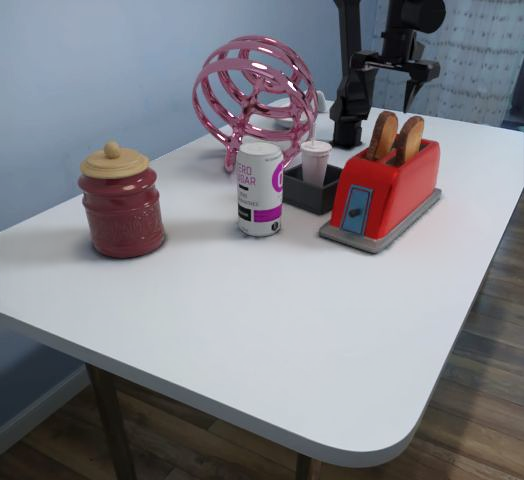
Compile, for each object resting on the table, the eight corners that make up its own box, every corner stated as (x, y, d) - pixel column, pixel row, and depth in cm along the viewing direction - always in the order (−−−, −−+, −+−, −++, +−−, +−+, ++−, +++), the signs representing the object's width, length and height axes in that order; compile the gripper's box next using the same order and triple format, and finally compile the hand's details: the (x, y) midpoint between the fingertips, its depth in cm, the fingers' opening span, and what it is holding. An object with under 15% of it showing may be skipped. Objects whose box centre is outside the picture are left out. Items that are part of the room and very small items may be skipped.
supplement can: (286, 221, 96) (289, 142, 87) (273, 241, 90) (274, 158, 81) (247, 215, 98) (246, 137, 89) (232, 234, 92) (228, 152, 83)
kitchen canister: (163, 222, 96) (150, 126, 84) (168, 255, 86) (154, 153, 75) (94, 228, 94) (71, 131, 82) (91, 263, 84) (64, 159, 73)
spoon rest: (302, 135, 135) (304, 107, 130) (265, 129, 140) (265, 101, 135) (336, 113, 151) (338, 87, 146) (301, 108, 155) (303, 82, 150)
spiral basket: (261, 105, 87) (302, -13, 94) (147, 122, 102) (189, 19, 108) (318, 198, 111) (348, 99, 117) (218, 201, 125) (250, 112, 131)
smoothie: (295, 186, 107) (298, 118, 98) (324, 185, 108) (330, 117, 98) (300, 199, 102) (304, 128, 93) (330, 198, 103) (337, 127, 94)
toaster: (377, 256, 86) (396, 146, 74) (314, 235, 92) (323, 130, 80) (443, 195, 106) (467, 100, 94) (388, 181, 112) (404, 89, 99)
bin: (276, 198, 104) (277, 173, 101) (310, 182, 111) (312, 158, 107) (320, 215, 99) (322, 189, 95) (353, 197, 105) (356, 172, 102)
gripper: (461, 26, 99) (442, 109, 109) (381, 16, 108) (371, 94, 119) (435, 33, 93) (417, 121, 103) (352, 22, 102) (344, 103, 112)
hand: (386, 109), depth 109 cm, fingers open, 9 cm apart
